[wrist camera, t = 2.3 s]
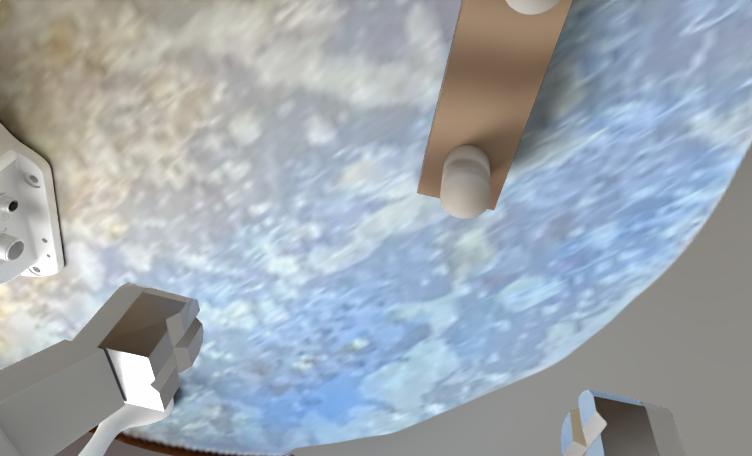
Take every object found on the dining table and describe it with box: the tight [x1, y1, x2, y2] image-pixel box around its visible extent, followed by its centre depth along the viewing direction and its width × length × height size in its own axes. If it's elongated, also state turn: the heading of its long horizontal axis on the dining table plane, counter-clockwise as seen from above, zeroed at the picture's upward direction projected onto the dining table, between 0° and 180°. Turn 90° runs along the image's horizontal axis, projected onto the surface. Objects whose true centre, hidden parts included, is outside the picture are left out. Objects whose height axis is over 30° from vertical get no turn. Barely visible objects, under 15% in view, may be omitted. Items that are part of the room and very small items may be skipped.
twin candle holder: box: [417, 0, 573, 218], centre depth 29 cm, size 18×6×9 cm, turn 171°
